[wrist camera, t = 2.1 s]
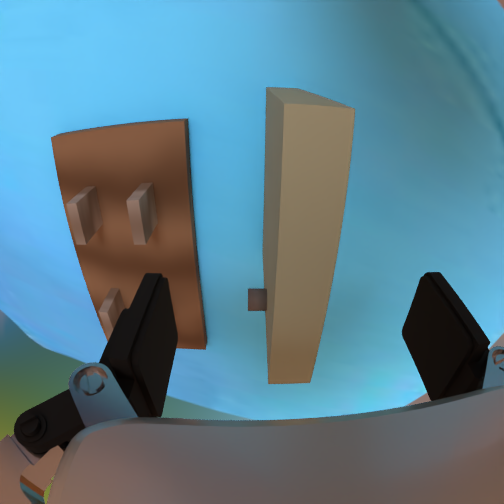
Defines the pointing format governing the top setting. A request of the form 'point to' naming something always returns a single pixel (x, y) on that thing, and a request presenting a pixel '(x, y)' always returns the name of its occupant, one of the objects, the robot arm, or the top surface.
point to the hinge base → (133, 217)
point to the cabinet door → (300, 224)
